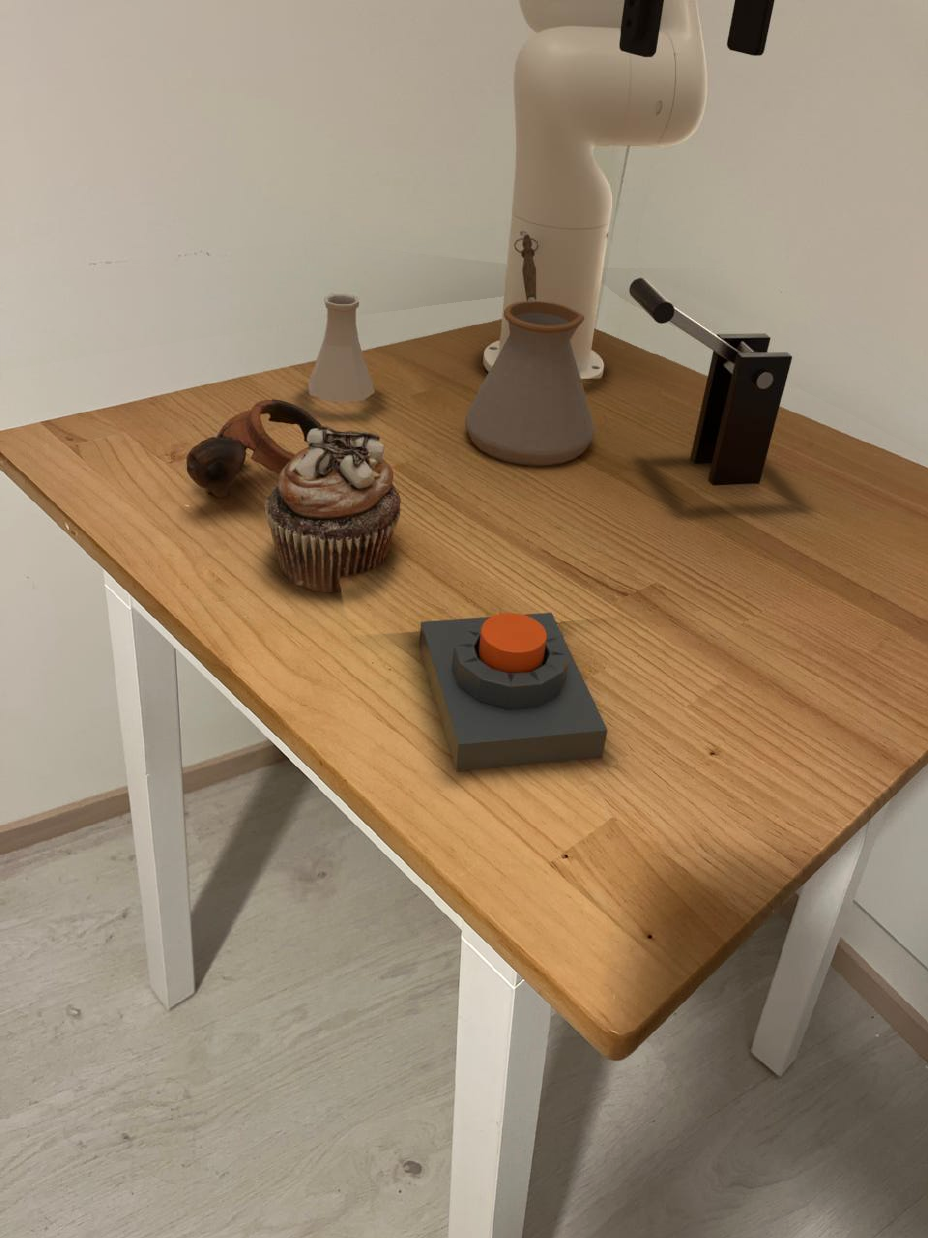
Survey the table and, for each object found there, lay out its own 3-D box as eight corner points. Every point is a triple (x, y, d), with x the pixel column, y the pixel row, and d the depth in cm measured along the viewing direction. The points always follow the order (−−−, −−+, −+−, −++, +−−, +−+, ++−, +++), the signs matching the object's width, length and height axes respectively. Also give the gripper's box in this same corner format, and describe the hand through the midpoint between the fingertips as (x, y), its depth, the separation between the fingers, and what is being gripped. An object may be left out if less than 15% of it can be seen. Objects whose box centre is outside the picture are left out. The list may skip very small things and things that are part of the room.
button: (472, 637, 67) (474, 614, 66) (533, 633, 68) (537, 610, 67) (487, 677, 64) (489, 654, 63) (551, 672, 65) (554, 649, 64)
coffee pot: (599, 487, 92) (626, 316, 83) (465, 481, 91) (479, 308, 82) (567, 385, 109) (587, 235, 101) (455, 380, 108) (465, 228, 100)
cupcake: (275, 526, 83) (271, 406, 77) (400, 532, 84) (405, 414, 78) (257, 596, 75) (251, 468, 70) (396, 603, 76) (401, 477, 70)
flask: (313, 382, 106) (312, 281, 100) (385, 391, 105) (388, 290, 99) (294, 413, 100) (291, 307, 94) (370, 422, 99) (372, 317, 93)
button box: (419, 647, 72) (422, 598, 69) (547, 638, 74) (554, 590, 71) (455, 772, 62) (460, 720, 60) (602, 757, 64) (612, 706, 62)
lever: (646, 321, 80) (666, 293, 79) (622, 295, 85) (640, 269, 84) (765, 399, 87) (785, 375, 86) (737, 372, 91) (756, 348, 90)
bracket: (681, 513, 89) (713, 368, 82) (644, 463, 96) (670, 324, 89) (801, 507, 92) (842, 365, 84) (756, 458, 99) (791, 323, 91)
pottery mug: (254, 454, 93) (299, 385, 89) (316, 535, 91) (365, 468, 87) (142, 466, 84) (186, 389, 79) (207, 557, 82) (256, 484, 77)
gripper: (804, -250, 70) (747, 43, 80) (593, -286, 62) (557, 45, 72) (894, -254, 65) (821, 60, 75) (676, -293, 57) (626, 64, 67)
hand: (692, 52), depth 74 cm, fingers open, 9 cm apart
